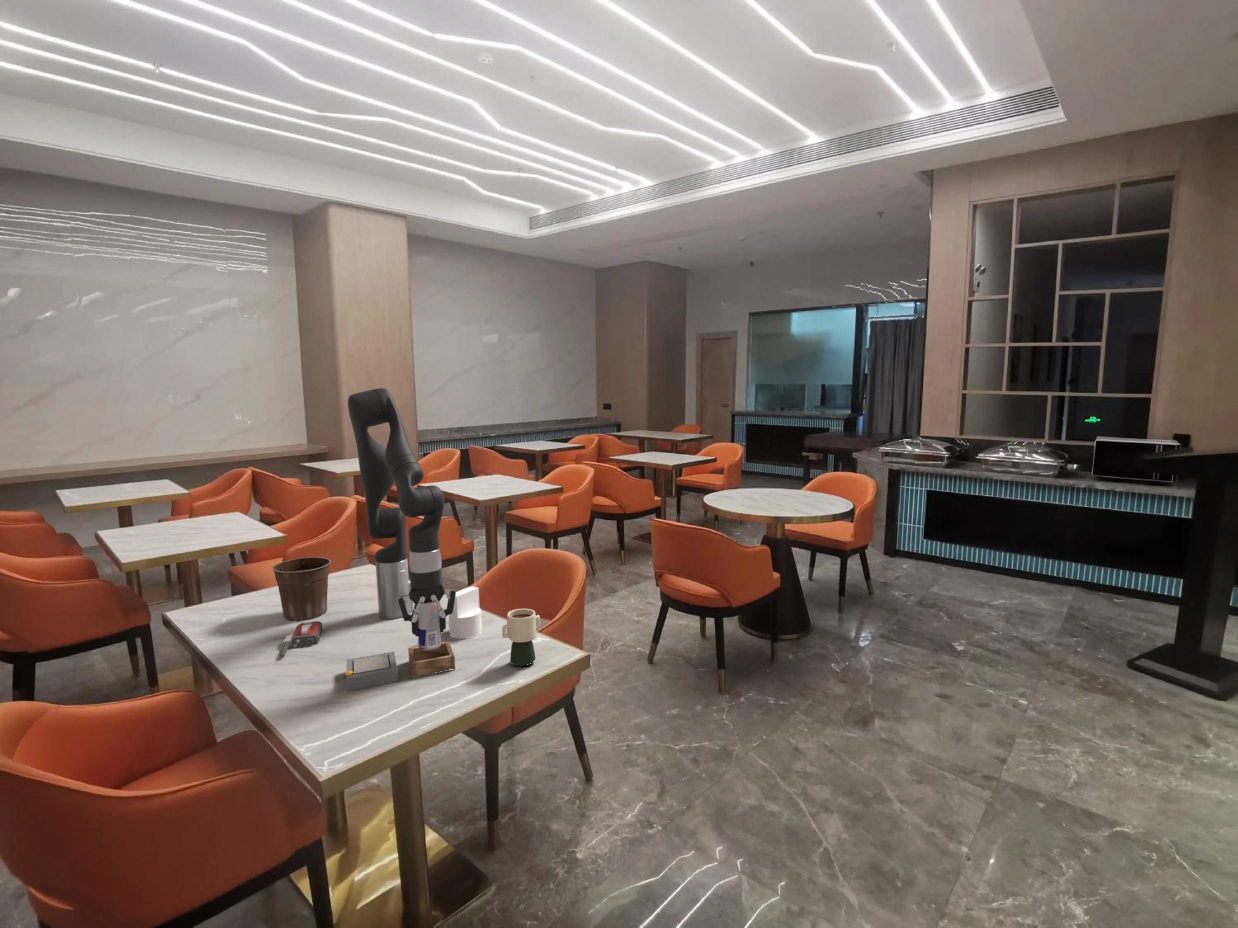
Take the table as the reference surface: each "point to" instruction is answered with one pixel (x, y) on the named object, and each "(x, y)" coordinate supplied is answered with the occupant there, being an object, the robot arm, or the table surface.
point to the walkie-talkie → (303, 636)
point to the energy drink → (429, 626)
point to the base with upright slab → (466, 614)
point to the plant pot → (303, 587)
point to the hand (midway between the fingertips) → (429, 632)
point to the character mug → (521, 635)
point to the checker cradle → (371, 674)
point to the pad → (371, 664)
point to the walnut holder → (431, 660)
